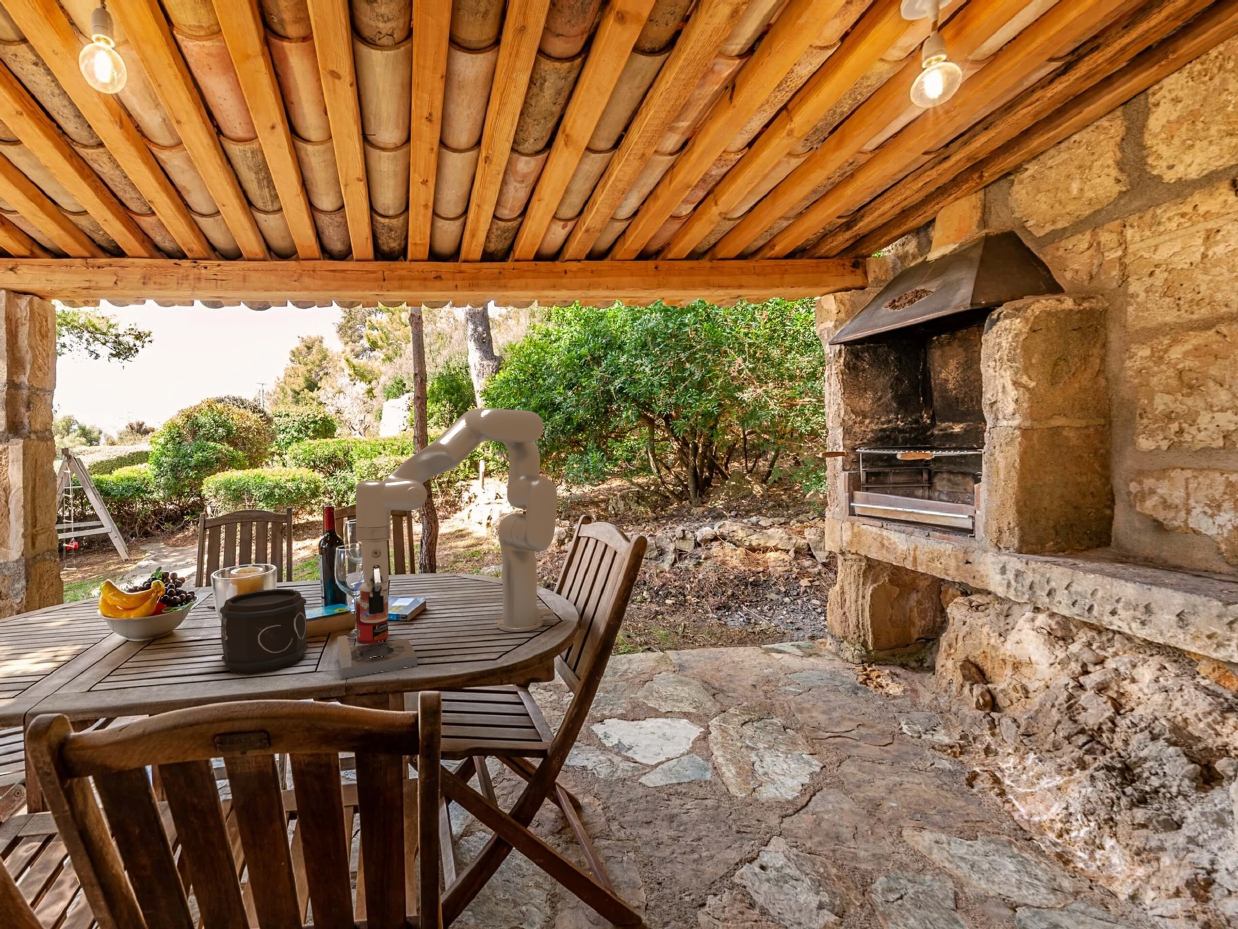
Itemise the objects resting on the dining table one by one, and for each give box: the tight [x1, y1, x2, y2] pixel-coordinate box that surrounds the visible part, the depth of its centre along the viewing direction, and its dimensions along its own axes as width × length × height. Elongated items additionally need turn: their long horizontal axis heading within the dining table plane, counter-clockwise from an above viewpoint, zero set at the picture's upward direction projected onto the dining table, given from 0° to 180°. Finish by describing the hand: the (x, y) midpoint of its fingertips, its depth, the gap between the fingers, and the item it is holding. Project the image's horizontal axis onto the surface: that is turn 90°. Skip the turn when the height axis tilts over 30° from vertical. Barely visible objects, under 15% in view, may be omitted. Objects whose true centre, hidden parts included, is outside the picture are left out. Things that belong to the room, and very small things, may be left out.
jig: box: [337, 635, 418, 680], centre depth 144 cm, size 16×14×6 cm
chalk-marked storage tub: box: [219, 588, 309, 675], centre depth 146 cm, size 18×18×16 cm
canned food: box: [355, 596, 389, 644], centre depth 161 cm, size 8×8×11 cm
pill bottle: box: [359, 573, 389, 623], centre depth 144 cm, size 6×6×11 cm
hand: (374, 608), depth 144 cm, fingers closed on pill bottle, 6 cm apart
